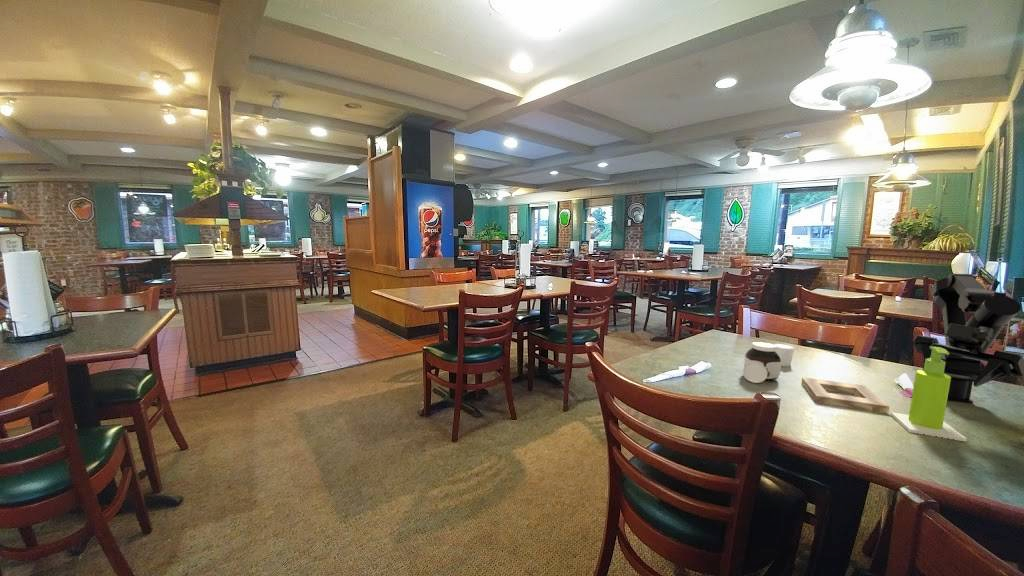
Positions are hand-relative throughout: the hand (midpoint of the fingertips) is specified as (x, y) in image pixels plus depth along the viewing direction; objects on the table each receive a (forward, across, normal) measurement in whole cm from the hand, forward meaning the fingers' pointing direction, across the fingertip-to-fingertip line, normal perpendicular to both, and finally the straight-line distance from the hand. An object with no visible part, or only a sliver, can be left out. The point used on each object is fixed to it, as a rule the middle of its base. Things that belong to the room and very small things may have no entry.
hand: (948, 378), depth 97 cm
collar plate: (+13, -19, +4) cm, 23 cm away
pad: (+14, 0, +3) cm, 14 cm away
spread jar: (+20, -37, -3) cm, 43 cm away
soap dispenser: (+13, 0, +3) cm, 13 cm away
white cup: (+5, -46, +13) cm, 48 cm away
